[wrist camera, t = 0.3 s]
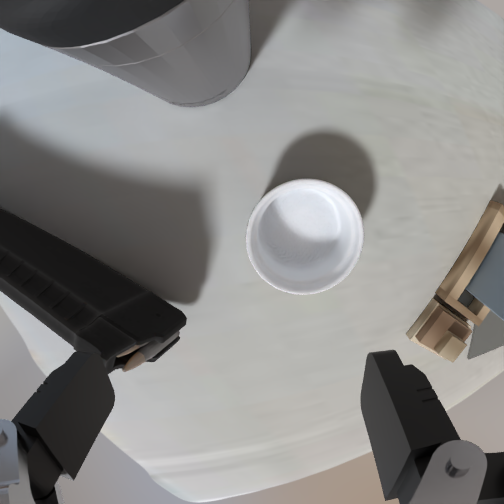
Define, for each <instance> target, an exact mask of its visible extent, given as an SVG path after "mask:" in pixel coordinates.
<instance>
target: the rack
mask: <svg viewBox="0 0 504 504" xmlns="http://www.w3.org/2000/svg"><path fill="white" fill-rule="evenodd" d="M502 225H504V206H503V204H501V203H498V202H495V201H491V200H490V202H489V204H488V206H487V208H486V210H485V212H484V214H483V216H482V218H481V219H480V221H479V223H478V225H477V227H476V229H475V230H474V232H473V234H472V236H471V237H470V239H469V241H468V242H467V244H466V246H465V247H464V249H463V251H462V252H461V254H460V256H459V257H458V259H457V261H456V262H455V264H454V265H453V267H452V268H451V270H450V272H449V273H448V275H447V276H446V278H445V279H444V281H443V282H442V284H441V285H440V287H439V288H438V289H437V291H436V292H435V293H436V294H437V295H438V296H439V297H441V298H442V299H443V300H444V301H445V302H446V303H448V304H449V305H450V306H452V307H453V308H455V309H456V310H457V311H459V312H460V313H461V314H463V315H464V316H465V317H467V318H468V319H469V320H471V321H472V322H473V323H474V324H476V325H477V326H478V327H479V326H480V324H481V323H482V321H483V320H484V318H485V317H486V316H487V314H488V313H489V311H490V309H489V308H488V307H487V306H485V305H484V304H483V303H482V302H480V301H479V300H478V299H477V298H476V297H475V298H474V300H473V301H472V303H471V304H470V305H469V307H468V308H467V307H466V306H465V305H463V304H462V303H461V302H459V301H458V298H459V297H460V295H461V294H462V292H463V291H464V289H465V288H466V286H467V285H468V283H469V282H470V280H471V278H472V277H473V275H474V274H475V272H476V271H477V269H478V267H479V266H480V264H481V262H482V261H483V259H484V257H485V256H486V254H487V252H488V250H489V249H490V247H491V245H492V243H493V242H494V240H495V238H496V236H497V234H498V232H499V231H500V229H501V227H502ZM470 328H471V326H470V325H469V324H468V323H467V322H465V321H464V320H463V319H461V318H460V317H459V316H457V315H456V314H455V313H453V312H452V311H450V310H449V309H448V308H446V307H445V306H443V305H442V304H441V303H439V302H438V301H436V300H435V299H434V298H432V300H431V301H430V303H429V304H428V305H427V307H426V308H425V310H424V311H423V312H422V314H421V315H420V316H419V318H418V319H417V320H416V322H415V323H414V324H413V326H412V327H411V328H410V329H409V331H408V332H407V333H406V335H407V336H408V338H409V339H410V340H411V341H413V342H415V343H416V344H418V345H420V346H422V347H424V348H425V349H427V350H429V351H431V352H433V353H435V354H436V355H438V356H440V357H442V358H444V359H445V360H446V359H448V360H449V361H451V362H454V361H455V360H456V358H457V357H458V356H459V355H460V353H461V352H462V351H463V350H464V348H465V347H466V346H467V345H466V344H465V341H466V339H467V338H468V337H469V335H470V334H471V333H472V330H471V329H470Z"/></svg>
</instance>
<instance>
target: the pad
mask: <svg viewBox="0 0 504 504" xmlns="http://www.w3.org/2000/svg"><path fill="white" fill-rule="evenodd" d="M503 345H504V321H503V320H502V319H501V318H500V317H498V316H497V315H496V314H495V313H494V312H493V311H491V310H490V311H489V313H488V314H487V316H486V317H485V318H484V320H483V321H482V323H481V324H480V326H479V327H478V326H477V325H476V324H474V329H473V334H472V339H471V344H470V349H469V353H468V357H467V358H468V359H471V358H474V357H477V356H479V355H482V354H484V353H486V352H489V351H491V350H494V349H496V348H498V347H501V346H503Z"/></svg>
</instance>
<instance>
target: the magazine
mask: <svg viewBox="0 0 504 504" xmlns="http://www.w3.org/2000/svg"><path fill="white" fill-rule="evenodd" d="M0 291H1V292H3V293H4V294H5V295H7V296H8V297H9V298H10V299H12V300H13V301H14V302H16V303H17V304H18V305H20V306H21V307H22V308H24V309H25V310H26V311H28V312H29V313H31V314H32V315H33V316H34V317H36V318H37V319H38V320H40V321H41V322H42V323H43V324H45V325H46V326H47V327H49V328H50V329H51V330H52V331H54V332H55V333H56V334H58V335H59V336H60V337H62V338H63V339H64V340H65V341H67V342H68V343H69V344H71V345H72V346H73V347H74V350H76V351H82V352H91V353H97V354H99V355H100V356H101V358H102V360H103V363H104V366H105V369H106V371H107V374H109V373H111V372H112V371H114V370H115V369H119V368H122V370H123V372H126V371H128V370H131V369H133V368H136V367H137V366H139V365H141V364H142V363H144V362H155V361H156V360H157V359H158V358H160V357H161V356H162V355H163V354H164V353H165V352H166V351H168V350H169V349H170V348H171V347H172V346H173V345H174V344H176V343H177V342H178V340H179V339H180V337H179V333H180V332H179V330H180V329H181V328H182V327H184V326H185V325H186V320H187V318H186V316H185V315H184V313H183V312H182V311H180V310H179V309H177V308H175V307H174V306H172V305H171V304H169V303H167V302H166V301H164V300H163V299H161V298H159V297H158V296H156V295H155V294H153V293H152V292H150V291H148V290H146V289H144V288H143V287H141V286H139V285H138V284H136V283H134V282H133V281H131V280H129V279H127V278H126V277H124V276H122V275H121V274H119V273H117V272H116V271H114V270H112V269H111V268H109V267H107V266H106V265H104V264H102V263H101V262H99V261H97V260H96V259H94V258H92V257H91V256H89V255H87V254H85V253H84V252H82V251H80V250H78V249H77V248H75V247H73V246H71V245H70V244H68V243H66V242H64V241H62V240H61V239H59V238H57V237H55V236H53V235H51V234H49V233H47V232H45V231H44V230H42V229H40V228H38V227H36V226H34V225H32V224H30V223H28V222H26V221H24V220H22V219H20V218H18V217H16V216H14V215H12V214H10V213H8V212H6V211H4V210H2V209H0Z"/></svg>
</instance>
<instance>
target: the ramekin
mask: <svg viewBox="0 0 504 504" xmlns="http://www.w3.org/2000/svg"><path fill="white" fill-rule="evenodd" d="M363 243H364V225H363V220H362V216H361V213H360V211H359V209H358V207H357V205H356V204H355V202H354V201H353V200H352V198H351V197H350V196H349V195H348V194H347V193H346V192H345V191H343V190H342V189H341V188H339V187H337V186H336V185H334V184H332V183H329V182H326V181H323V180H319V179H310V178H304V179H296V180H291V181H288V182H285V183H283V184H280V185H278V186H276V187H275V188H273V189H272V190H270V191H269V192H268V193H267V194H266V195H264V196H263V197H262V198H261V200H260V201H259V202H258V203H257V205H256V206H255V208H254V209H253V211H252V213H251V216H250V218H249V221H248V224H247V229H246V247H247V252H248V256H249V259H250V261H251V263H252V265H253V267H254V269H255V270H256V271H257V273H258V274H259V275H260V276H261V277H262V278H263V279H264V280H265V281H266V282H267V283H268V284H270V285H271V286H273V287H274V288H276V289H279V290H281V291H284V292H287V293H291V294H298V295H302V294H303V295H304V294H314V293H319V292H322V291H325V290H327V289H329V288H331V287H334V286H335V285H336V284H338V283H339V282H341V281H342V280H343V279H344V278H345V277H346V276H347V275H348V274H349V273H350V272H351V271H352V270H353V268H354V267H355V265H356V263H357V262H358V259H359V257H360V255H361V252H362V248H363Z"/></svg>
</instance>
